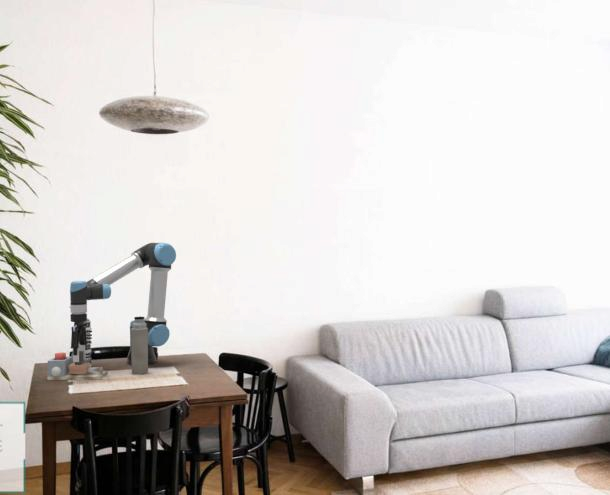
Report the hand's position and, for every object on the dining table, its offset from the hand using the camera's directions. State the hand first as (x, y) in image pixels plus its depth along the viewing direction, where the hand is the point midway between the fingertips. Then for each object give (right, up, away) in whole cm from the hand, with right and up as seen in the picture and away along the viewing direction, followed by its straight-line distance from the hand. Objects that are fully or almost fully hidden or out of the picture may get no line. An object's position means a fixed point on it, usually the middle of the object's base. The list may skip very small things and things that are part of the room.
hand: (79, 360), depth 314 cm
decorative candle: (-7, -8, +27) cm, 29 cm away
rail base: (-1, -8, 0) cm, 8 cm away
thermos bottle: (+27, -8, +9) cm, 30 cm away
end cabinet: (-9, -8, 0) cm, 12 cm away
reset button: (-9, 0, 0) cm, 9 cm away
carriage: (0, -6, 0) cm, 6 cm away
